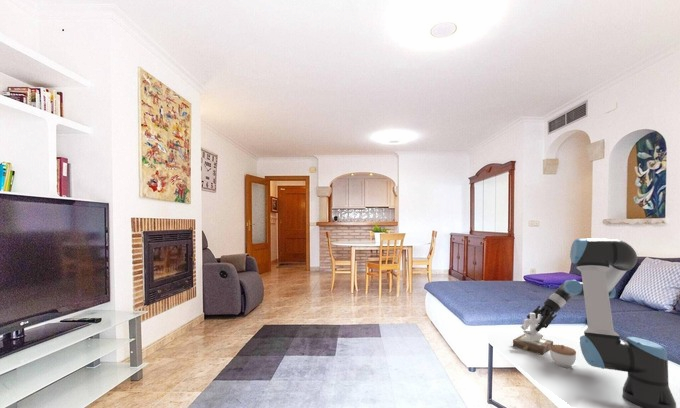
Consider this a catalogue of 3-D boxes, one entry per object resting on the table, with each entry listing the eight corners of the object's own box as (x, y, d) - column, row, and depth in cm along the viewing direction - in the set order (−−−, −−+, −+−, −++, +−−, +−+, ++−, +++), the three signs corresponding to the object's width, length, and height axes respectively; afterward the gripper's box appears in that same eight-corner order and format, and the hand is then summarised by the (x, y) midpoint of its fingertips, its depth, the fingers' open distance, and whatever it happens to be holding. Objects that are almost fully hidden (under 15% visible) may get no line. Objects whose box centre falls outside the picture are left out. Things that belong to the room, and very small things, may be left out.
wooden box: (540, 356, 166) (540, 348, 167) (510, 347, 178) (510, 340, 178) (553, 347, 179) (553, 340, 179) (524, 340, 190) (524, 333, 191)
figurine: (521, 337, 183) (520, 311, 184) (538, 337, 183) (537, 311, 184) (528, 342, 176) (527, 314, 177) (545, 342, 176) (544, 315, 176)
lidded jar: (581, 370, 151) (580, 350, 152) (555, 368, 153) (555, 348, 154) (569, 361, 162) (569, 342, 162) (546, 359, 164) (545, 340, 164)
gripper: (572, 313, 170) (543, 343, 169) (547, 303, 191) (521, 330, 190) (562, 302, 171) (533, 332, 170) (538, 294, 192) (512, 320, 191)
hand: (526, 331), depth 180 cm, fingers open, 8 cm apart
